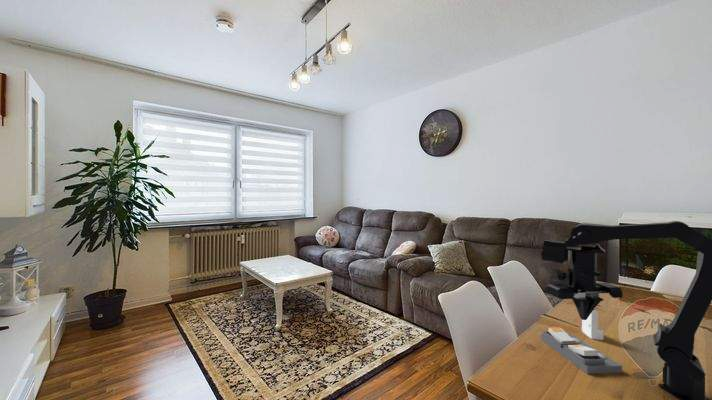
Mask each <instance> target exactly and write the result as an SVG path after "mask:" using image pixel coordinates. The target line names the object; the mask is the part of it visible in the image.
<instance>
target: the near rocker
mask: <svg viewBox="0 0 712 400" xmlns="http://www.w3.org/2000/svg"><path fill="white" fill-rule="evenodd" d="M568 348H569V349H571V350H572V351H574V352H575V353H578V354H581V355H583V356H598V352H597V351H598V349H596V348H594V349H592V348H589V347H586V346H583V345H568ZM595 349H596V350H595Z"/></svg>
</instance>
